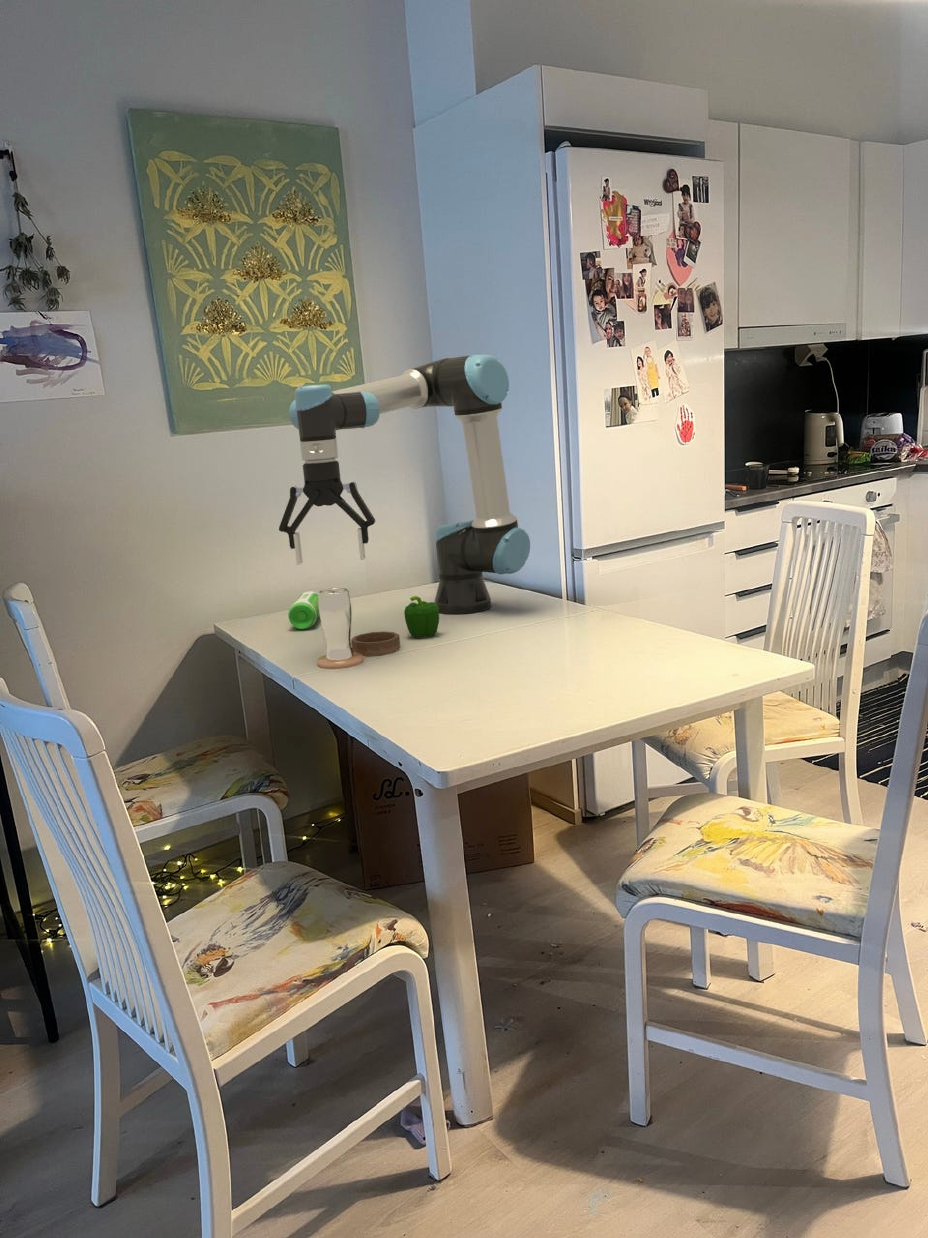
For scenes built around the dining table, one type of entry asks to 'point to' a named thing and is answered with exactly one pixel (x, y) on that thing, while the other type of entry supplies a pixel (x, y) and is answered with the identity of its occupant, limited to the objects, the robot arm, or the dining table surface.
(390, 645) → the walnut collar
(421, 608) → the bell pepper
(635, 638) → the dining table surface
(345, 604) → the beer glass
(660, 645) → the dining table surface
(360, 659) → the pinkish-brown smooth disc
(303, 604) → the speaker
